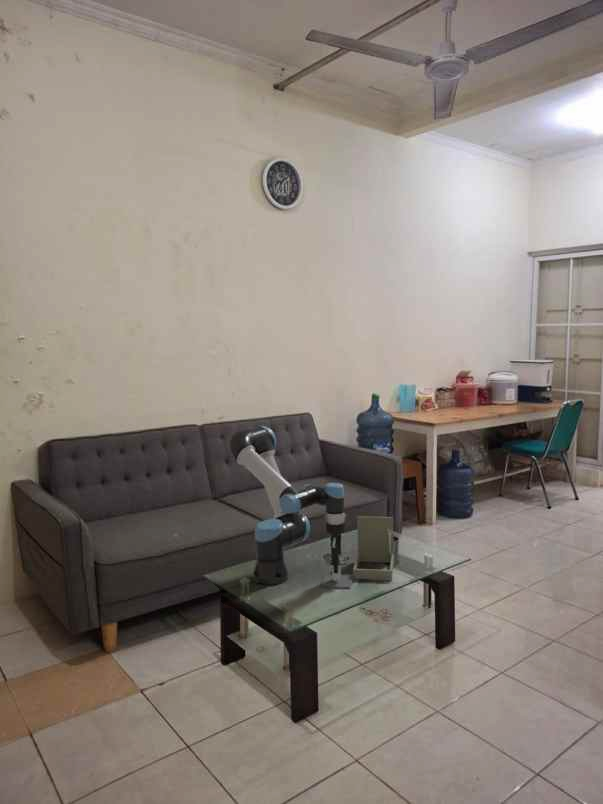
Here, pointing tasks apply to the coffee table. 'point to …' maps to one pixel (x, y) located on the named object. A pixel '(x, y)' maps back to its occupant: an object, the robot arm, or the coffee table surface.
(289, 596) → the coffee table surface
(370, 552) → the case
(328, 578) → the mat
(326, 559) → the mechanical component
